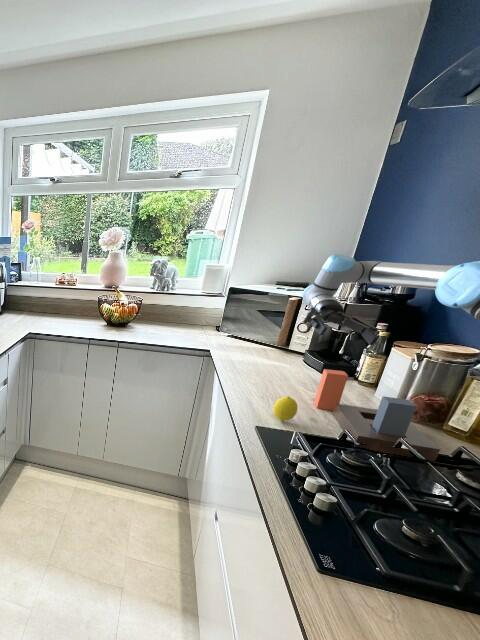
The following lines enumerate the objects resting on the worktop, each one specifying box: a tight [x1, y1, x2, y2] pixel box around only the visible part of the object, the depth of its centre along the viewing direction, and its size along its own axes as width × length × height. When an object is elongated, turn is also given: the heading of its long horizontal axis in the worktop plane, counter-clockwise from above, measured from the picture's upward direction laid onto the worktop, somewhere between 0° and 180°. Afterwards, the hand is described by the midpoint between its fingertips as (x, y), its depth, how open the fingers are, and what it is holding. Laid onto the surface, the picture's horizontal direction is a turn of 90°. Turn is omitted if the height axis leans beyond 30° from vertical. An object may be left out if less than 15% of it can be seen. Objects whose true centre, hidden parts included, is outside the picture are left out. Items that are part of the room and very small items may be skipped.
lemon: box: [272, 395, 298, 422], centre depth 118 cm, size 6×6×8 cm
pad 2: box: [372, 395, 417, 437], centre depth 104 cm, size 5×5×12 cm
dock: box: [331, 403, 441, 463], centre depth 110 cm, size 15×25×4 cm, turn 149°
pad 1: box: [313, 368, 349, 412], centre depth 127 cm, size 5×5×12 cm
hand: (348, 336), depth 125 cm, fingers open, 13 cm apart
